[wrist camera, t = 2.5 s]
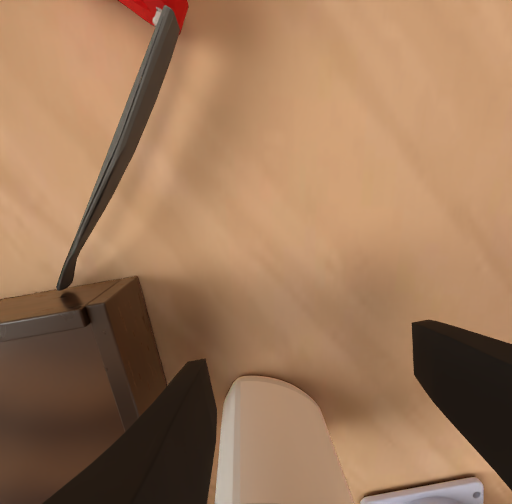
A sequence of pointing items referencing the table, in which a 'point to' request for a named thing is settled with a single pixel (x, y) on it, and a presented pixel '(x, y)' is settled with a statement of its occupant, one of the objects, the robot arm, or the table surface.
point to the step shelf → (70, 381)
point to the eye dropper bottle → (276, 448)
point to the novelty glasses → (131, 115)
